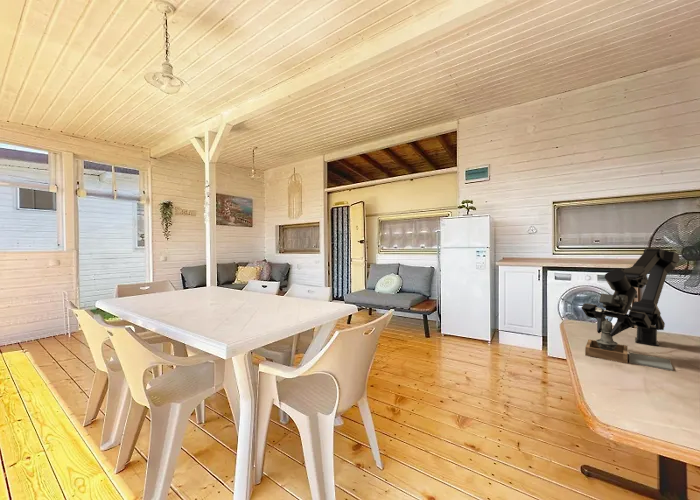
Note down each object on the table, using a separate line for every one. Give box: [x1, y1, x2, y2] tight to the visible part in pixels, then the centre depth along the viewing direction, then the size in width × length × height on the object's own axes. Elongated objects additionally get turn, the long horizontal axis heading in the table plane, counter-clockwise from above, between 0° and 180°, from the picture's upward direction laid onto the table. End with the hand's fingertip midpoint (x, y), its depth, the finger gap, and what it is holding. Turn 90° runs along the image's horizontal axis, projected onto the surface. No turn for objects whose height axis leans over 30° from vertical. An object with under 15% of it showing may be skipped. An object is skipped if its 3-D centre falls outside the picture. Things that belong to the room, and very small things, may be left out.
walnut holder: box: [584, 339, 629, 364], centre depth 109 cm, size 11×11×3 cm
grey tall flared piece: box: [596, 318, 619, 351], centre depth 109 cm, size 6×6×12 cm
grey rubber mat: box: [628, 352, 674, 372], centre depth 102 cm, size 10×10×1 cm
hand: (604, 334), depth 108 cm, fingers closed on grey tall flared piece, 4 cm apart
